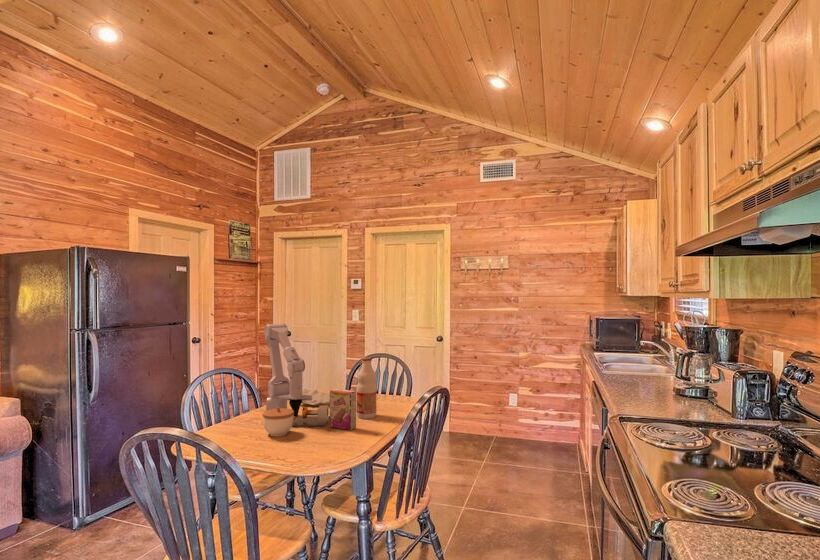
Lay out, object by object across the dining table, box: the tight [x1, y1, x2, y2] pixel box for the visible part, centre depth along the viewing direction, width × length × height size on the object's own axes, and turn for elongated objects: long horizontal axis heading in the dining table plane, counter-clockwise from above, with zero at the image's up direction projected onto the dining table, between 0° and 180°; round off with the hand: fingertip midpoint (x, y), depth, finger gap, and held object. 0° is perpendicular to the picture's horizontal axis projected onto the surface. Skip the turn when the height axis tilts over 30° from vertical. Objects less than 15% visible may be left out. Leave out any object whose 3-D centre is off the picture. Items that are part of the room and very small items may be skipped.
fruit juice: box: [356, 356, 377, 420], centre depth 222 cm, size 9×9×28 cm
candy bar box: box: [329, 388, 357, 432], centre depth 204 cm, size 11×5×16 cm, turn 65°
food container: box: [301, 388, 330, 408], centre depth 244 cm, size 12×30×6 cm, turn 78°
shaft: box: [301, 406, 318, 418], centre depth 212 cm, size 9×5×5 cm, turn 91°
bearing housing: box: [291, 406, 330, 428], centre depth 212 cm, size 15×14×7 cm
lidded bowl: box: [262, 407, 295, 437], centre depth 196 cm, size 13×13×11 cm
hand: (295, 416), depth 212 cm, fingers closed
